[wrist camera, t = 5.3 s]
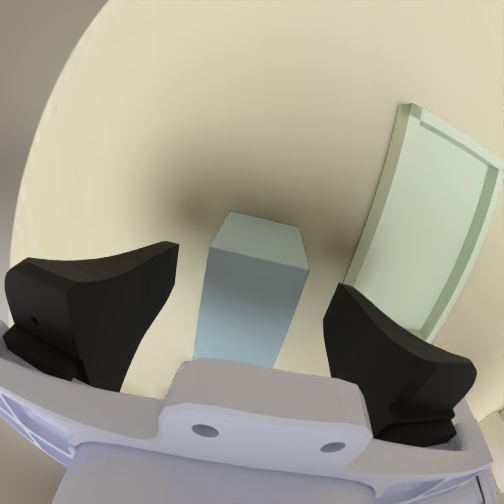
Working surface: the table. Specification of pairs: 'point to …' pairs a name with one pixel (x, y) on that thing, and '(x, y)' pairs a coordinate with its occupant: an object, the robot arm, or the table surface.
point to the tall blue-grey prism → (250, 290)
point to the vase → (495, 443)
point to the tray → (425, 221)
